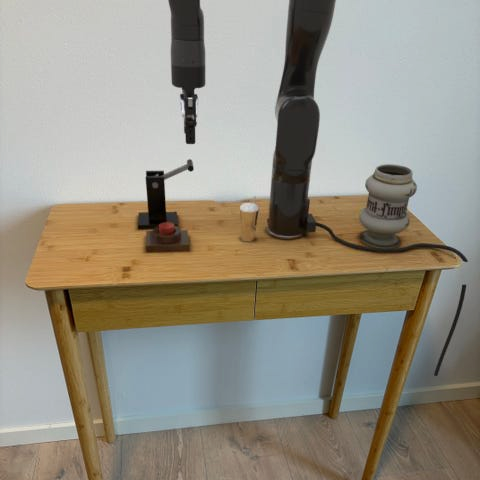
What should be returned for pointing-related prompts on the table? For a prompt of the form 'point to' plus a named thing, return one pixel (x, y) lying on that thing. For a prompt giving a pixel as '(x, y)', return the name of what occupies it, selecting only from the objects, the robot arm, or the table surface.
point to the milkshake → (248, 220)
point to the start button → (166, 228)
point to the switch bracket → (155, 203)
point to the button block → (167, 241)
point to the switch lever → (179, 170)
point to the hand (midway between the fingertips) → (189, 138)
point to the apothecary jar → (387, 205)
